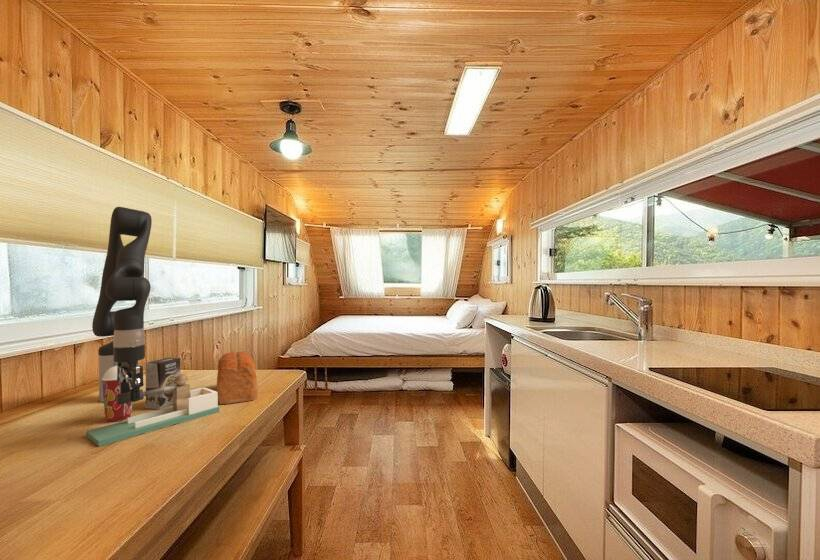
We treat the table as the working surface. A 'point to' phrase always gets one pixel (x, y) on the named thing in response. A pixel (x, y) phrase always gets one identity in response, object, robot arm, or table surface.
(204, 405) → the pitch
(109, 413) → the smoothie
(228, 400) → the bread
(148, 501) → the table surface
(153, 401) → the coffee box
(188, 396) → the rod
